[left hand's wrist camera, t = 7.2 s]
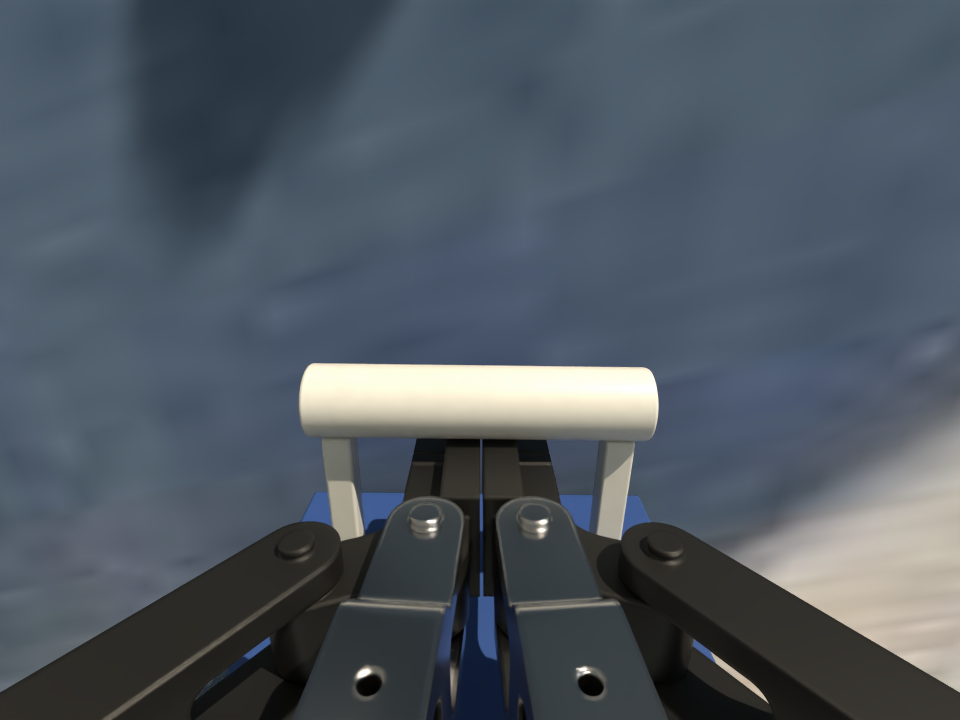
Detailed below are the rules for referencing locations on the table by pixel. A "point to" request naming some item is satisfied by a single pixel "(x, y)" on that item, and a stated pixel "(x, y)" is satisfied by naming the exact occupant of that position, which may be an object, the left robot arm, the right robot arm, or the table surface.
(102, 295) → the table surface
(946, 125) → the table surface
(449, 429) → the drawer
